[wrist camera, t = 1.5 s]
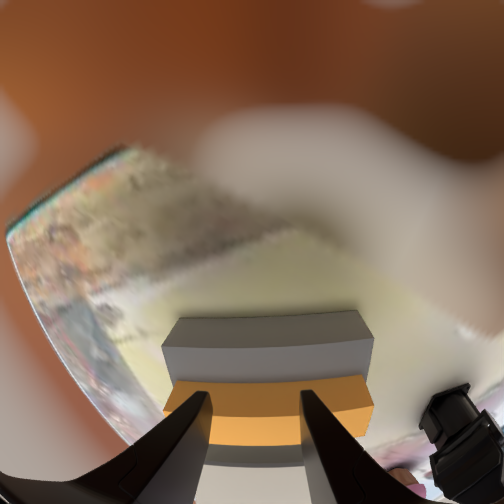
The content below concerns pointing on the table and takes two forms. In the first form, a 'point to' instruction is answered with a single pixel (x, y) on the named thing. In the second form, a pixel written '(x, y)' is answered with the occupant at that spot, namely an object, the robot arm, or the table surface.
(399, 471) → the cupcake
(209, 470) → the panel
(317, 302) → the table surface
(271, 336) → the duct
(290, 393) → the orange bar
